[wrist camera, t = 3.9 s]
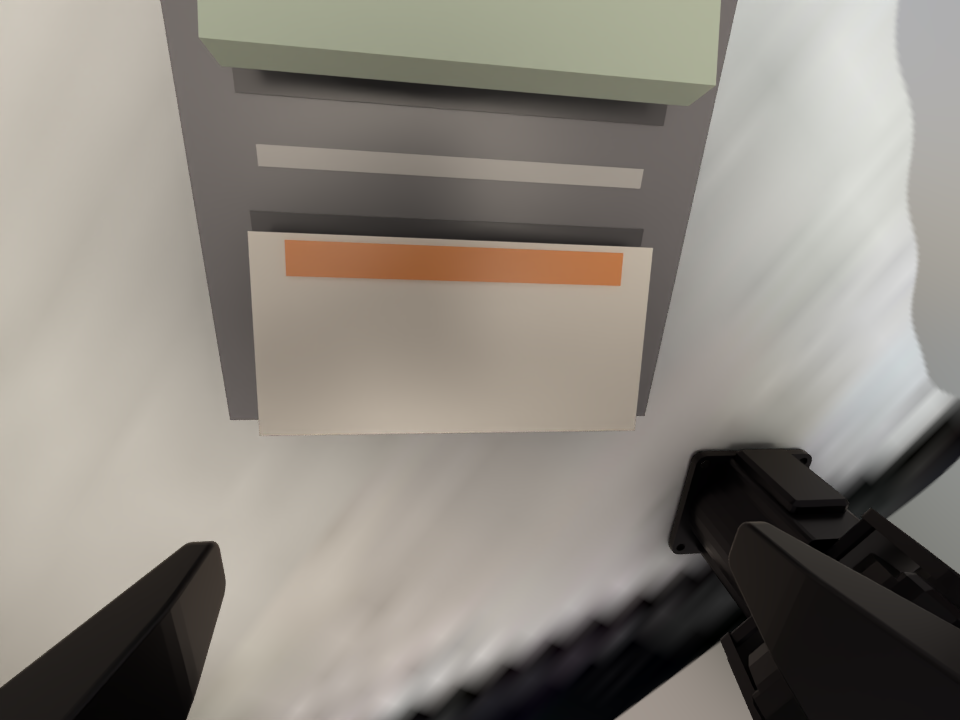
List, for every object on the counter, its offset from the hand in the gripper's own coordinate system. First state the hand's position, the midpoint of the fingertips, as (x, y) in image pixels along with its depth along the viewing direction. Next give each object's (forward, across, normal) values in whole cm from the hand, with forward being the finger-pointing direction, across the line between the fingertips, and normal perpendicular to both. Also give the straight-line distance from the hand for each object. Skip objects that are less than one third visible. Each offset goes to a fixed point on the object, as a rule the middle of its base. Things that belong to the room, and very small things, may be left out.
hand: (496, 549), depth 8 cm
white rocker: (+9, 0, -1) cm, 9 cm away
